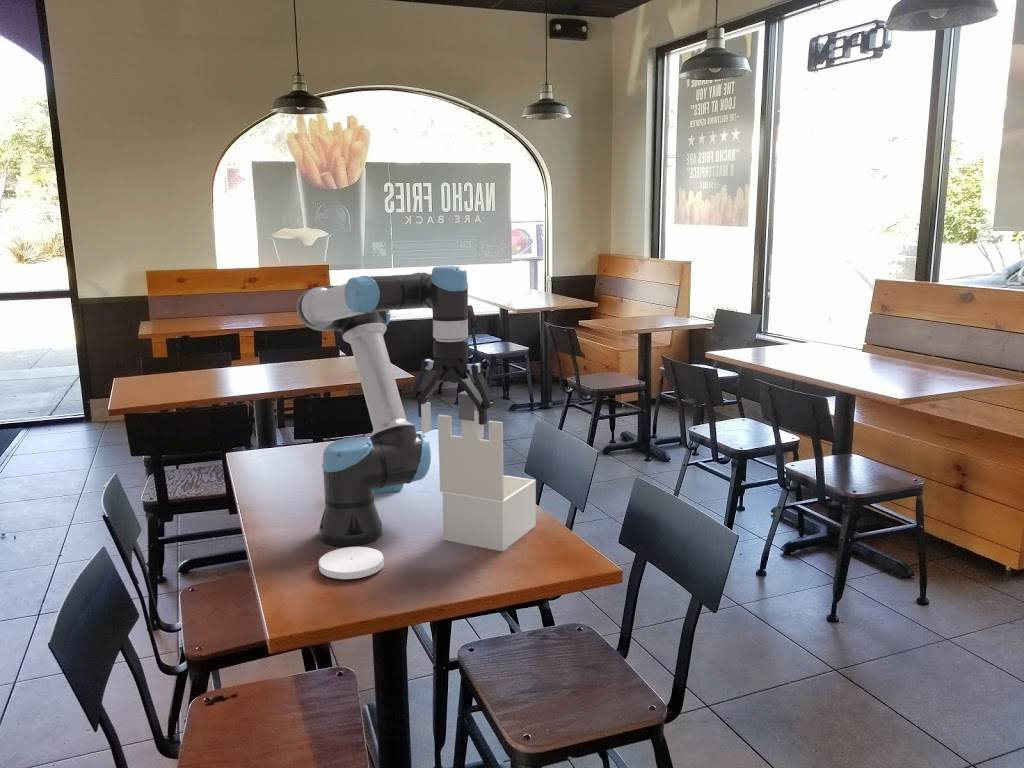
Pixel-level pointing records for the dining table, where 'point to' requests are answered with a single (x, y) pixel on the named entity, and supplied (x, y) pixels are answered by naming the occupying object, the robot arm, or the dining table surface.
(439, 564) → the dining table surface
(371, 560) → the plastic lid
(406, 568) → the dining table surface
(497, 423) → the carton flap
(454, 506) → the carton
